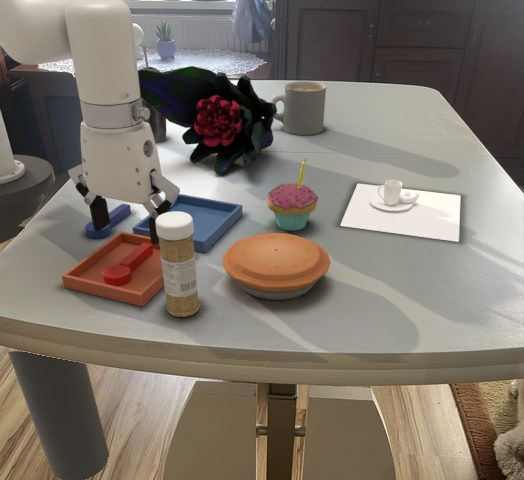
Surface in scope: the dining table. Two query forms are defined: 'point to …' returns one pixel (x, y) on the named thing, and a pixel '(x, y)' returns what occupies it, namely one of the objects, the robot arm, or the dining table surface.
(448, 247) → the dining table surface
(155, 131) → the beverage cup
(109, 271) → the red spoon
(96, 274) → the terracotta tray
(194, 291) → the sprinkles bottle
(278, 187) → the cupcake
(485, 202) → the dining table surface
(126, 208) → the blue spoon
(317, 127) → the coffee mug
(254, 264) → the pie
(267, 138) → the decorative plant
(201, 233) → the blue tray
